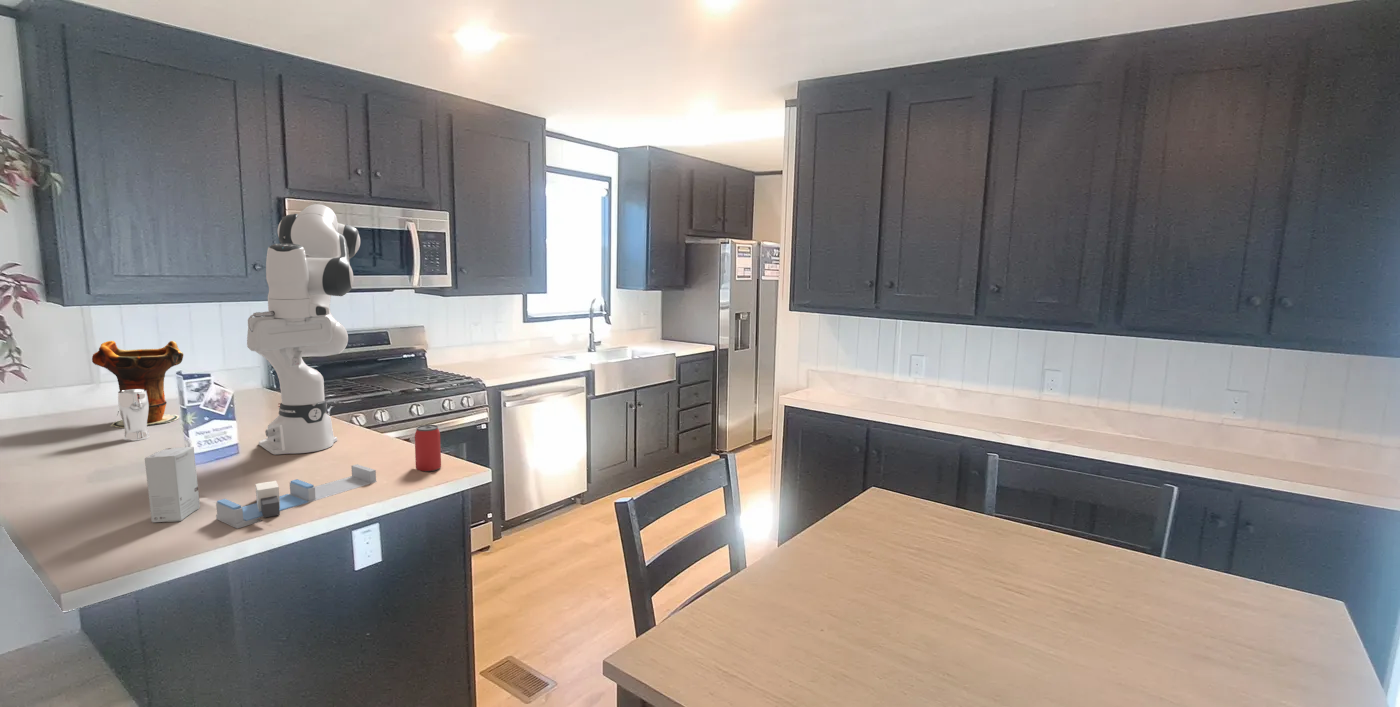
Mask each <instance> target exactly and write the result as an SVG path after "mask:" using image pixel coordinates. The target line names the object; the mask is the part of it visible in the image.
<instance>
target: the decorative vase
mask: <svg viewBox="0 0 1400 707" xmlns="http://www.w3.org/2000/svg"><path fill="white" fill-rule="evenodd" d="M183 359H184V353H183V352H182V351H181V350H180V349H179V347H178V344H177V342H176V341H174V340H170V341H169V342H168V343H167V344H166V345H165V346H163V347H161V348H142V349H120V348H118V346H117V343H116V342H115V341H114V340H108V341H105V342H102V343H101V344H100V346H99V349H98V351H96V352H94V353H93V354H92V357H91V361H92V363H93V364H94V365H95V366H99V367H102V368H104V369H106V370H108V371H109V373H112V374H113V375H114V376H116V379H117V384H118V389H119V391H123V390H129V389H146V391H147V396H148V402H149V411H148V419H147V426H149V425H150V426H151V425H157V424H167V423H170V422H171V423H172V422H174V421H177V420H178V419H179V418H180V415H177V414H167V413H165V411H166V407H167V404H168V403H167V400H166V398H165V386H164V384H165V377H166V372H167V371H169V370H170V369H172V367H175V366H178V365H180V364H181V363H182V361H183ZM119 414H120V412H119V410H118V411H117V414H116V416H118V415H119ZM110 427H115V428H122V429H123V428H124V424H123V421H122V419H120V420H116V421H114V422H112V423H111V424H110ZM124 429H125V428H124Z"/></svg>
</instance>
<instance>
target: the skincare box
mask: <svg viewBox="0 0 1400 707" xmlns="http://www.w3.org/2000/svg"><path fill="white" fill-rule="evenodd" d="M144 464H145V473H146V474H145V475H146V484H147V491H148V501H149V511H150V519H151V520H150V521H151V523H161V522H162V523H165V522H166V523H170V522H171V523H172V522H181V521H183V520H184V519H185V518H186V517H188V516H189V515H191V514H192V513H194V512H196V511H198V510H199V509H200V507H201V505H200V504H201V503H200V493H199V485H198V476H197V467H196V466H197V465H196V455H195V447H194V446H183V447H167V448H166V447H165V448H164V449H161V450H160V451H155V452H154V453H153V454H150V455H149V456H145V458H144Z"/></svg>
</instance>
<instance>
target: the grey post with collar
mask: <svg viewBox="0 0 1400 707" xmlns="http://www.w3.org/2000/svg"><path fill="white" fill-rule="evenodd" d="M255 494H256V495H255V496H256V503H257V507H258V510H259V512H260V511H262V514H263V517H262V518H263V519H264V518H271V517H276V516H279V515H281V511H280V510H279V508H280V499H279V496H280V487H279V484H278V481H277V480H272V481H267V482H266V481H264V482H259V483H255Z"/></svg>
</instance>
